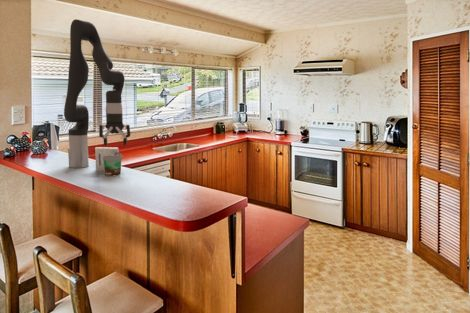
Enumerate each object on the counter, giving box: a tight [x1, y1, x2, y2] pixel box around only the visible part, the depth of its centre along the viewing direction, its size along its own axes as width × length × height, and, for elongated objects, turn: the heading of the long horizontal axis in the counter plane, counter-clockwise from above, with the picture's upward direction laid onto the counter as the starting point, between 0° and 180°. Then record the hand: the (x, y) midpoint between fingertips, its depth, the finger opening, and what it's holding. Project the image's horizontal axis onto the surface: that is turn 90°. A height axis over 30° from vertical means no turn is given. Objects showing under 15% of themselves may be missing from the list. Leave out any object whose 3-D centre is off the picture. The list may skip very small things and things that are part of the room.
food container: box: [103, 152, 123, 177], centre depth 177 cm, size 12×6×10 cm, turn 168°
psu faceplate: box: [94, 146, 119, 172], centre depth 184 cm, size 11×2×12 cm, turn 100°
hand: (115, 145), depth 175 cm, fingers open, 8 cm apart
